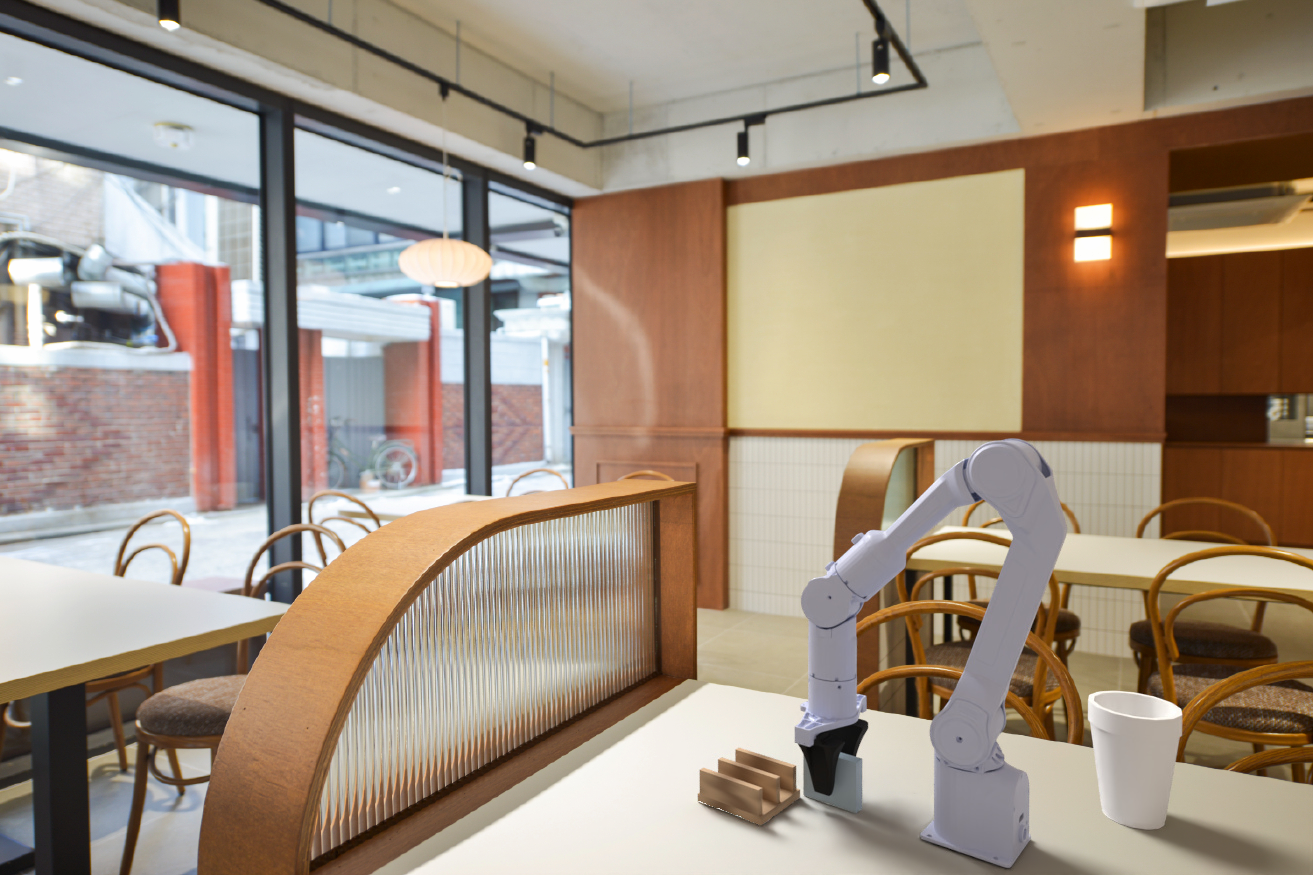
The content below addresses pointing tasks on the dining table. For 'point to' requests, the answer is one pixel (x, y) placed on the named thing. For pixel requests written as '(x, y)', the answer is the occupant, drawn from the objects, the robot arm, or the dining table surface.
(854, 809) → the pale blue upright slab
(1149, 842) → the dining table surface
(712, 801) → the rack
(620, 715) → the dining table surface
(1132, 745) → the foam cup
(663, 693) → the dining table surface
